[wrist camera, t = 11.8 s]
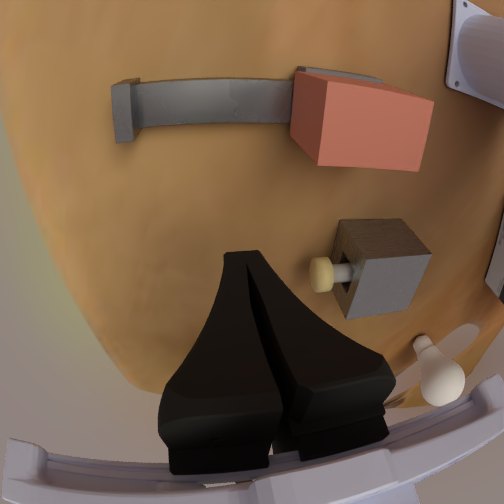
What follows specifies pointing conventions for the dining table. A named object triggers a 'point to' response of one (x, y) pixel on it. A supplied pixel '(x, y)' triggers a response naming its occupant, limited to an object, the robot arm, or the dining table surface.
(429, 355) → the lightbulb
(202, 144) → the dining table surface
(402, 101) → the block
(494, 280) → the tea box
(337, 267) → the plunger
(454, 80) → the robot arm
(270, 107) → the rail
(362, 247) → the grey block with hole
